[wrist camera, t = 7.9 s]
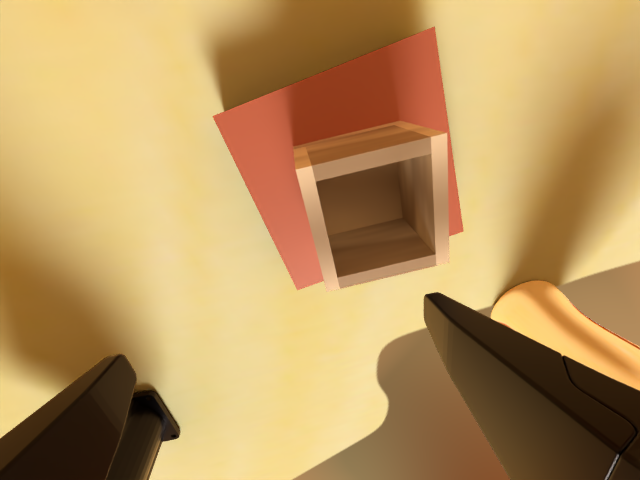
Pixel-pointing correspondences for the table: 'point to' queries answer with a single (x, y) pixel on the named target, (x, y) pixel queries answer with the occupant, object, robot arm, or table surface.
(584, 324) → the beer glass
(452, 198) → the red square block
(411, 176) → the masu
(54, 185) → the table surface
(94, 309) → the table surface
